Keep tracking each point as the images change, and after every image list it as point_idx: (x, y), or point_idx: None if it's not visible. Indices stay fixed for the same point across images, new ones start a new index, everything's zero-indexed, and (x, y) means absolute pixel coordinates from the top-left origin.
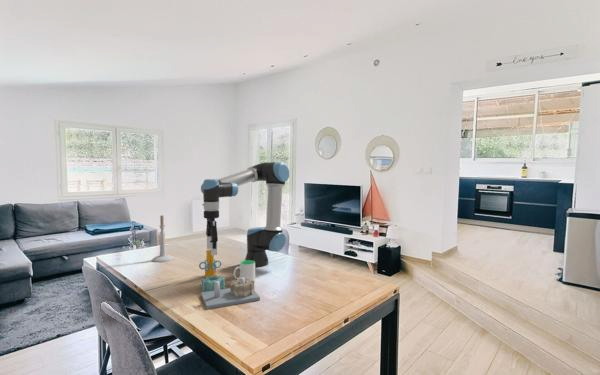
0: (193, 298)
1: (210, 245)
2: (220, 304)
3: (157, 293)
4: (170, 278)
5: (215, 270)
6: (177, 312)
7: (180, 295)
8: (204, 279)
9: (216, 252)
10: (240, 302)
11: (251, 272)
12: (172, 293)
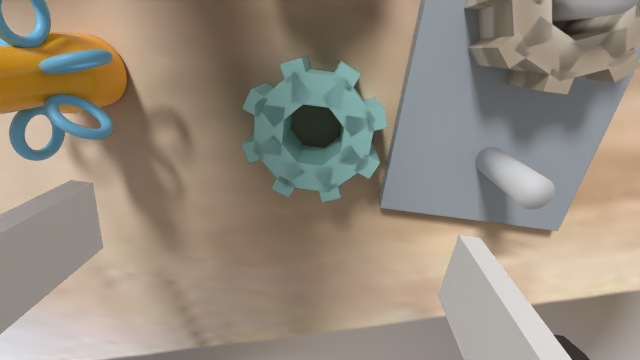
0: (391, 235)
1: (55, 235)
2: (582, 172)
3: (255, 325)
4: None
5: (77, 40)
6: None
7: (324, 267)
8: (297, 184)
9: (493, 267)
10: None
11: None
12: (284, 286)
